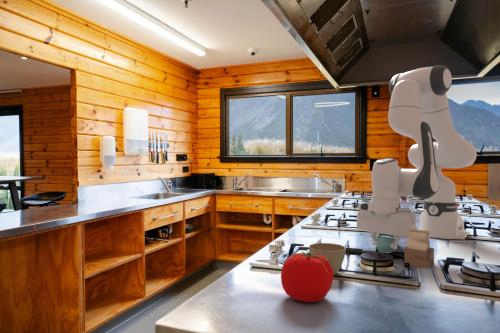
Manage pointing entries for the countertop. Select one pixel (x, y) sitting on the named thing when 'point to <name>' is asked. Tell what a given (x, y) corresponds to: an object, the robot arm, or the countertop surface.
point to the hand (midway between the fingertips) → (384, 247)
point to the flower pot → (330, 253)
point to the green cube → (384, 243)
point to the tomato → (307, 277)
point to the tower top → (418, 239)
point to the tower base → (419, 257)
